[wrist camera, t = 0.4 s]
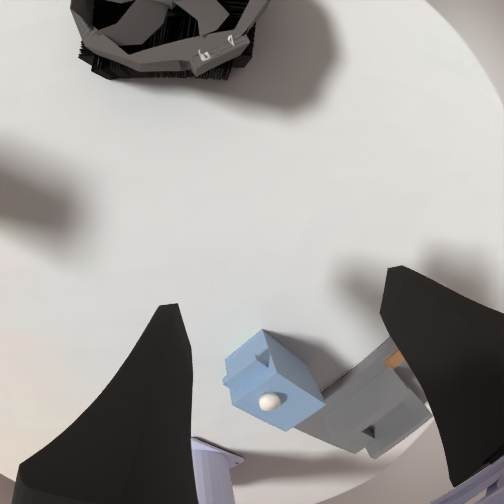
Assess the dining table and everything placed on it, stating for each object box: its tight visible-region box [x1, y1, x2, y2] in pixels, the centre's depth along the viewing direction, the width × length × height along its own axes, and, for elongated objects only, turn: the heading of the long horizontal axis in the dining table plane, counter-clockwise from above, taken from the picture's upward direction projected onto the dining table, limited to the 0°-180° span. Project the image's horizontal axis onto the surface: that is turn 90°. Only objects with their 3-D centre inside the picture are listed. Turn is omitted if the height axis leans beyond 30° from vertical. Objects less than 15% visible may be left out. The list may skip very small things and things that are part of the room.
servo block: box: [223, 329, 326, 431], centre depth 22 cm, size 4×8×6 cm, turn 43°
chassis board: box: [294, 337, 433, 459], centre depth 28 cm, size 14×15×4 cm
